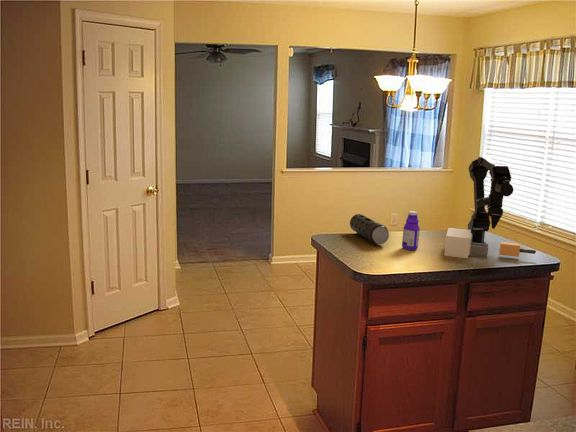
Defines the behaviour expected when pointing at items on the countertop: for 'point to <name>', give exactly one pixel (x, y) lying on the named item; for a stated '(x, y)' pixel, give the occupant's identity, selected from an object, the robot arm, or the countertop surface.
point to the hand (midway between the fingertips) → (492, 226)
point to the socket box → (463, 244)
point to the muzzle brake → (369, 229)
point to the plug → (512, 249)
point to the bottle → (411, 232)
